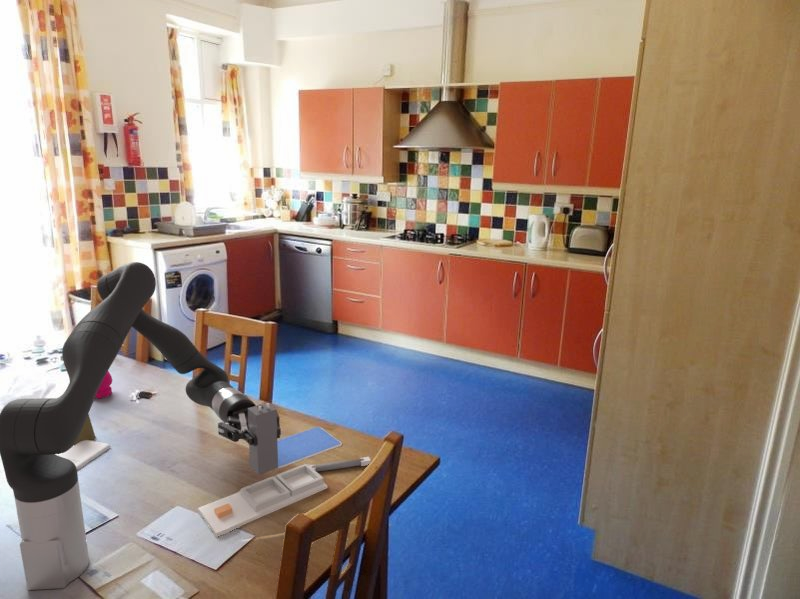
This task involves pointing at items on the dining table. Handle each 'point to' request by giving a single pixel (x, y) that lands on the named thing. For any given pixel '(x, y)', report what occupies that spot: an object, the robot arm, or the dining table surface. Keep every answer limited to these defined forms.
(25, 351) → the dining table surface
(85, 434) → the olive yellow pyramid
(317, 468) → the grey bar
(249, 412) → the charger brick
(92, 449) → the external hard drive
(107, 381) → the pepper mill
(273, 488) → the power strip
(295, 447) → the tablet computer
